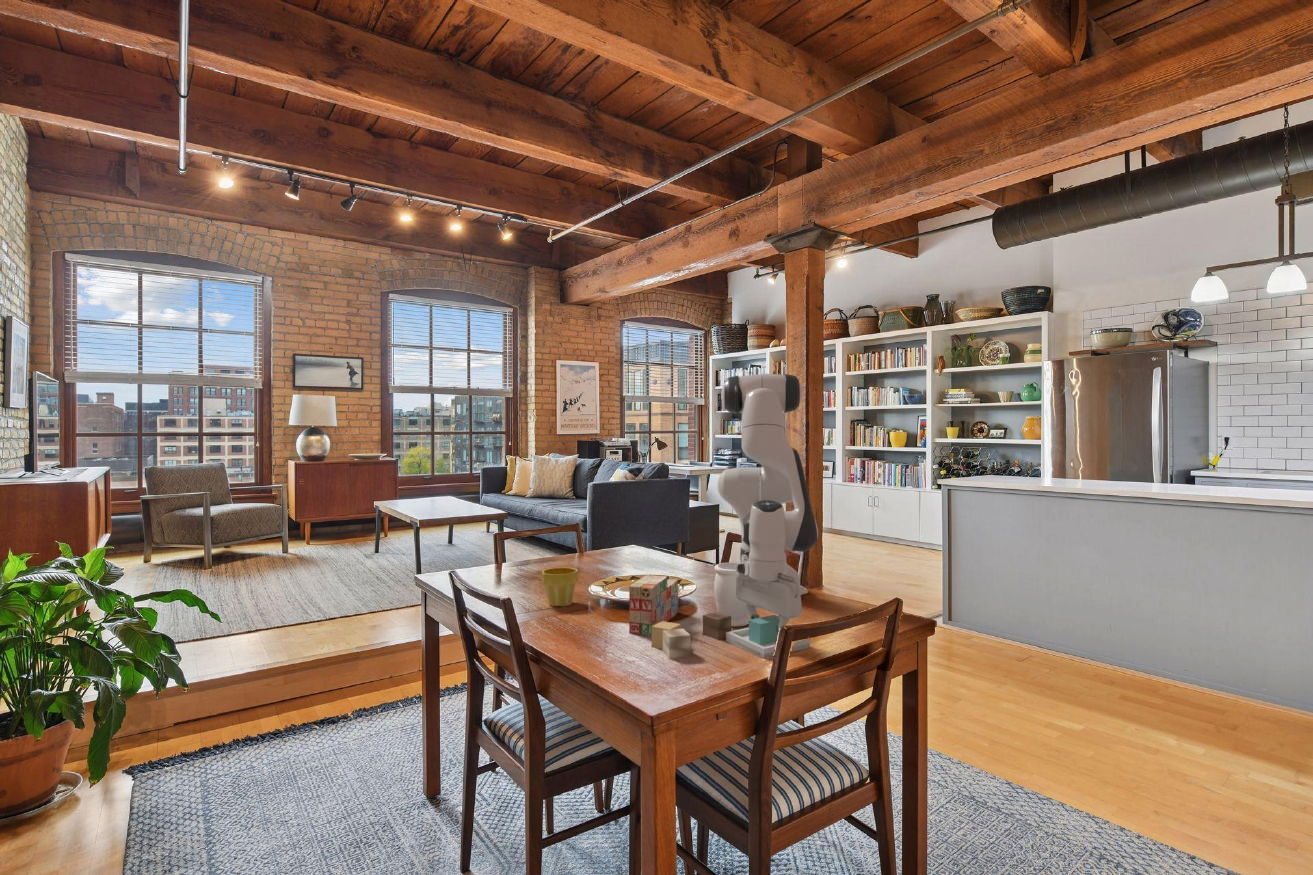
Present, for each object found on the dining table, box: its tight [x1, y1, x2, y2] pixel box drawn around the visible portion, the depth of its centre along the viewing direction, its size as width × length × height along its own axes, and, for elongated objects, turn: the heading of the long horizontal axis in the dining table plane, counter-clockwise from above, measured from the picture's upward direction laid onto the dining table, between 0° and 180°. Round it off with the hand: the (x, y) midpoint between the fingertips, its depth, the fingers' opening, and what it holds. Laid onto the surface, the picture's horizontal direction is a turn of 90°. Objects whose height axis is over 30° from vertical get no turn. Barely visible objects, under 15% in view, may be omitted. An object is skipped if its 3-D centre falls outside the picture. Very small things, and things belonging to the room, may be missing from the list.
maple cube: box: [662, 628, 691, 660], centre depth 155 cm, size 5×5×5 cm
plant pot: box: [541, 566, 579, 607], centre depth 197 cm, size 10×10×10 cm
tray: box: [725, 627, 811, 659], centre depth 161 cm, size 14×14×2 cm
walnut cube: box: [702, 610, 732, 640], centre depth 168 cm, size 5×5×5 cm
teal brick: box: [748, 614, 780, 645], centre depth 161 cm, size 8×4×5 cm, turn 121°
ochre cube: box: [651, 621, 682, 650], centre depth 160 cm, size 5×5×5 cm
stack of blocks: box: [628, 574, 679, 637], centre depth 178 cm, size 21×6×12 cm, turn 160°
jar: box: [713, 561, 750, 627], centre depth 178 cm, size 11×10×15 cm
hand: (767, 627), depth 161 cm, fingers open, 8 cm apart
